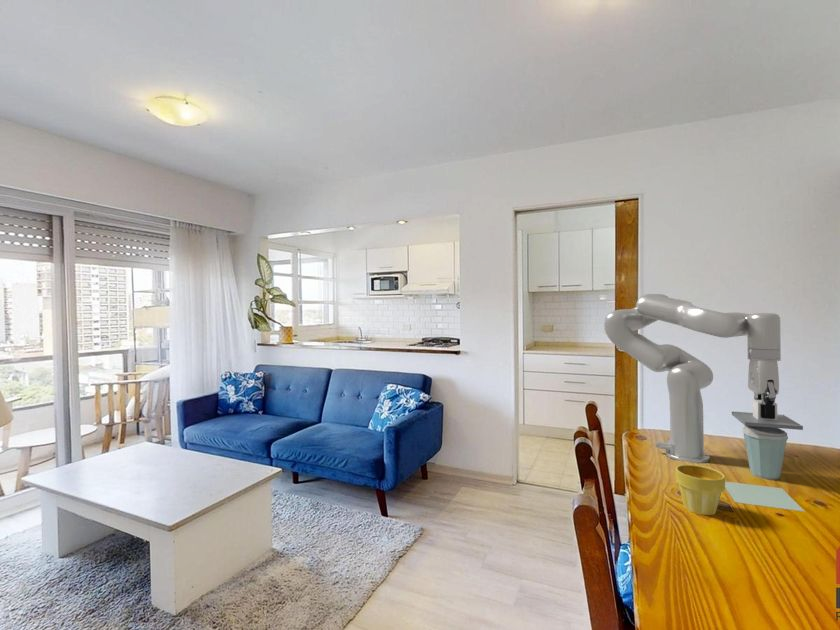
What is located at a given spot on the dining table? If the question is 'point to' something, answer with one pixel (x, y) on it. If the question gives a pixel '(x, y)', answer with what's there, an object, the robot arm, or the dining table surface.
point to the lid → (756, 419)
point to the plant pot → (700, 488)
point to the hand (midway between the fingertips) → (764, 415)
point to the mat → (761, 496)
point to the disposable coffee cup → (765, 450)
